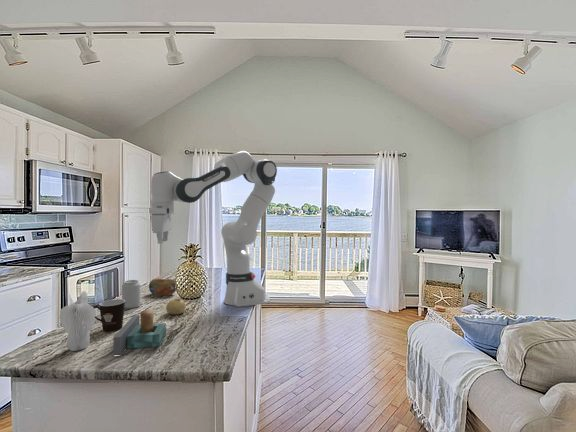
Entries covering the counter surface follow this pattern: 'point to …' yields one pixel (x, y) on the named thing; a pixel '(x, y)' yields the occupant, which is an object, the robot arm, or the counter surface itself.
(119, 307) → the coffee mug
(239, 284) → the robot arm
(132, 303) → the can
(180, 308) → the onion
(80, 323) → the shell sculpture
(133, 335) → the block
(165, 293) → the tin
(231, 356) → the counter surface
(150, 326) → the dowel
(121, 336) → the wall
